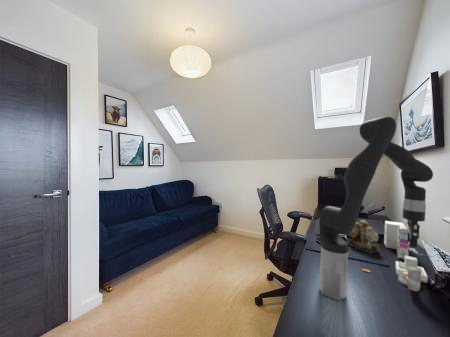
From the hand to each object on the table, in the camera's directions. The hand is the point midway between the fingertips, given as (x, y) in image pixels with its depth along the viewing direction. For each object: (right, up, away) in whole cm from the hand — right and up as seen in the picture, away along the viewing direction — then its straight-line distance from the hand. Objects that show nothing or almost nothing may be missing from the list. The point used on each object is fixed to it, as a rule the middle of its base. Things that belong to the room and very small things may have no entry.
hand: (411, 244), depth 92 cm
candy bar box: (+14, -15, +20) cm, 28 cm away
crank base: (-13, -14, -3) cm, 19 cm away
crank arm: (-11, -12, -11) cm, 19 cm away
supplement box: (+20, -14, +33) cm, 41 cm away
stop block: (0, -14, 0) cm, 14 cm away
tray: (0, -14, 0) cm, 14 cm away
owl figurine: (-3, -14, +30) cm, 33 cm away
